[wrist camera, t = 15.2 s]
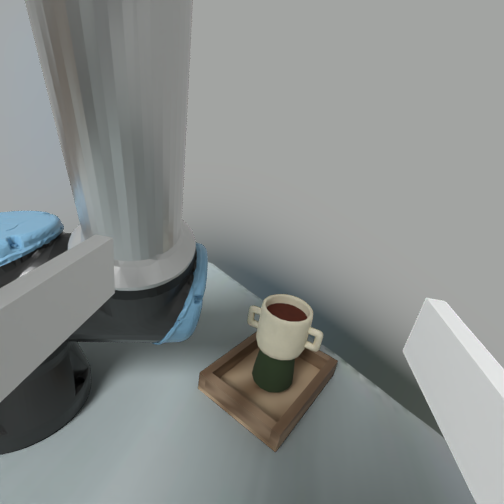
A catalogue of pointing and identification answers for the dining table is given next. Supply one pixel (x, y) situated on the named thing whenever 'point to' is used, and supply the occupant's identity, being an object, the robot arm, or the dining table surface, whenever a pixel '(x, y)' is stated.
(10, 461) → the dining table surface
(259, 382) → the character mug
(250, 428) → the wooden tray
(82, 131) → the robot arm
